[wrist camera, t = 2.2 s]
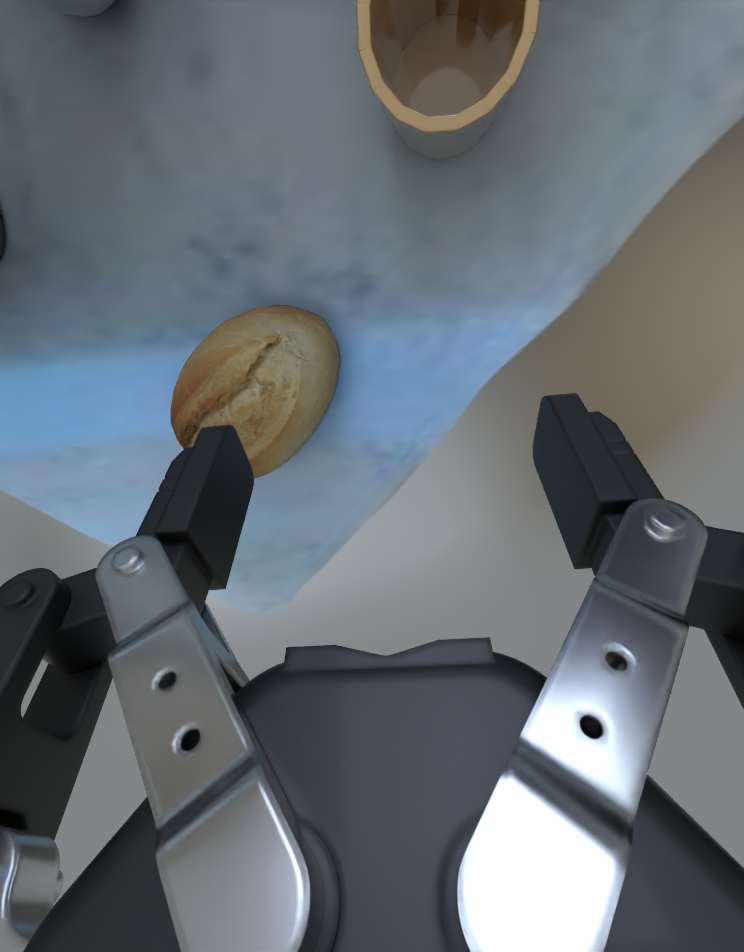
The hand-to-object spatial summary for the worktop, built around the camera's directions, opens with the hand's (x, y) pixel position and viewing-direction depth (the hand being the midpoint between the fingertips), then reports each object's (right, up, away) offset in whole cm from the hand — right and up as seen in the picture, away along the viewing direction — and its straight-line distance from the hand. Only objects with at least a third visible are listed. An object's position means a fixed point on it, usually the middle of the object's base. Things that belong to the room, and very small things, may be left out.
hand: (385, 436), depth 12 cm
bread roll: (-9, +6, +23) cm, 25 cm away
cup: (+4, +20, +12) cm, 24 cm away
